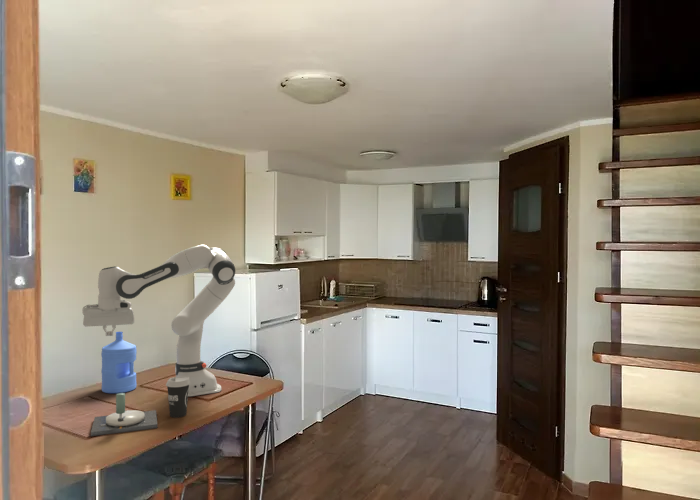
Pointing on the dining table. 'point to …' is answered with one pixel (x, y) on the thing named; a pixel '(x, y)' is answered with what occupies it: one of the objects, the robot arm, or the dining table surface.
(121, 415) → the dial
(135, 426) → the dial base plate
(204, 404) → the dining table surface
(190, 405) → the dining table surface
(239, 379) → the dining table surface
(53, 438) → the dining table surface
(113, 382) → the water jug
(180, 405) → the coffee cup
